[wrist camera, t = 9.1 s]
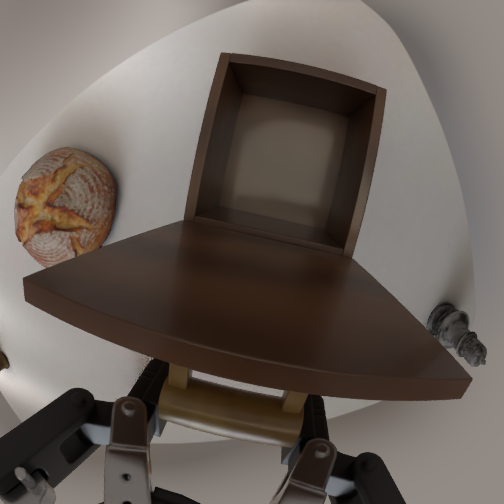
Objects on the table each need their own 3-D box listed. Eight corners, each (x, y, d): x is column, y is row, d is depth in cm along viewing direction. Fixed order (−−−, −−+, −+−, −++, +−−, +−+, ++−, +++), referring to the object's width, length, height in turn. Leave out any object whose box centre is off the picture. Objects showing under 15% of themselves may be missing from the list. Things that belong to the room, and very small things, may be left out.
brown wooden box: (237, 88, 28) (220, 52, 18) (356, 114, 27) (387, 89, 18) (211, 211, 31) (182, 224, 22) (329, 238, 31) (351, 262, 21)
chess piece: (422, 339, 33) (459, 389, 21) (429, 302, 32) (476, 347, 20) (452, 333, 32) (492, 378, 21) (460, 298, 31) (508, 337, 19)
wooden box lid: (22, 277, 6) (47, 402, 7) (473, 378, 6) (394, 480, 7) (181, 220, 21) (172, 282, 23) (353, 259, 21) (334, 319, 22)
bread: (144, 230, 34) (103, 254, 24) (57, 277, 37) (18, 302, 28) (100, 120, 30) (52, 112, 20) (22, 188, 33) (-22, 199, 23)
